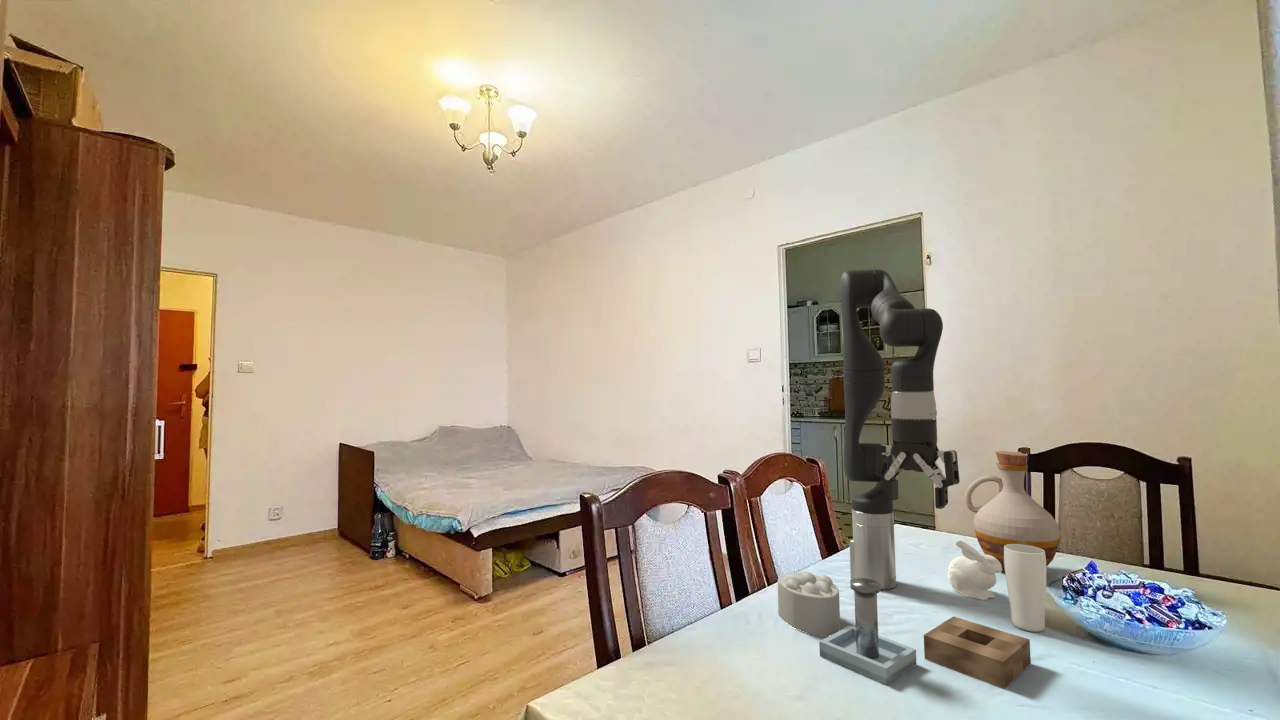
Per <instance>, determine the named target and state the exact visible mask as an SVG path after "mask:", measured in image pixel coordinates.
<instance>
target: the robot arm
mask: <svg viewBox="0 0 1280 720" xmlns="http://www.w3.org/2000/svg"><path fill="white" fill-rule="evenodd" d="M839 296H840V297H839V298H840V299H839V300H840V310H841V323H842V336H843V340H842V341H843V353H842V355H843V362H842V363H843V364H842V365H843V367H842V368H843V373H842V375H843V393H844V394H843V395H844V412H845V413H844V419H845V423H844V446H843V447H844V449H843V468H844V474H845V477H846V478H847V480H849V482H850V481H851V482H861V483H862V482H863V483H864V482H865V483H876V484H875V486H874V487H873V488H871V489H869V490H867V491H866V492H863V493H859V494H856V495H854V496H853V497H852V499H851V516H852V517H851V518H852V522H851V523H852V539H850V540H849V566H850V568H849V569H850V581H851V580H852V579H855V578H866V579H871V580H875V581H877V582H879V583H880V590H889V589H890V590H891V589H894V588H895V587H897V572H896V567H897V566H896V565H897V564H896V545H895V544H896V541H895V538H896V537H895V522H894V521H895V518H894V515H895V514H894V501H897V500H898V499H899V480H898V479H897V478H898V476H899V475H900V474H901V473H902V472H903V471H914V472H916V473H917V472H918V473H924V474H925V475H926V476H927V477H928V478H929V479H931V481H932V482H933V483H934V485H935V486H936V487H934V502H935V506H934V507H935V509H938V510H942V509H944V508H945V507H946V506H947V505H948V504H949V491H948V488H949V487H951V486H955V485H959V484H960V481H961V479H960V471H959V463H958V453H957V451H956V450H954V449H950V450H939V448H938V446H937V445H938V428H937V427H938V424H937V422H938V421H937V416H938V411H937V402H936V395H935V392H934V391H935V389H934V385H935V383H934V367H935V361H936V356H937V352H938V348H939V345H940V342H941V338H942V334H943V330H944V329H943V328H944V324H943V323H944V322H943V319H942V316H941V315H940V314H939V312H938V311H937V310H935V309H933V308H916V307H915V306H914V305H913V304H912V302H911V301H909V300H908V299H906V298H905V297H904V296H903V295H902V294H901V293H900V291H899V290H898V288H897V286H896V284H895V281H894V280H893V279H892V277H891V276H890V273H888V272H887V271H885V270H883V269H880V268H879V269H876V268H873V269H872V268H871V269H855V270H853V269H852V270H846V271H844V272H843V273H842V274H841V276H840V281H839ZM858 309H870V313H871V315H872V318H874V321H876V323H878V324H879V336H880V338H881V342H883V343H884V344H885V345H887V346H889V347H894V348H895V347H896V348H899V347H900V348H902V347H903V348H904V347H906V348H907V347H910V348H911V347H917V351H916V353H915V354H914V355H913V356H911V357H909V358H904V359H899V360H895V361H894V362H892V364H891V368H890V374H891V375H890V376H891V379H890V381H891V396H890V397H891V399H890V416H891V417H890V418H891V419H890V420H891V421H890V422H891V423H890V424H891V439H892V444H891V445H888V443H881V442H880V443H879V442H878V443H876V442H875V443H871V442H870V443H868V442H867V443H864V442H863V443H862V442H861V443H860V437H861V433H862V430H863V427H864V425H865V423H866V421H867V419H868V417H869V416H870V414H871V413H872V411H873V410H874V408H875V407H876V406H877V405H878V403H879V401H880V400H881V398H882V396H883V394H884V392H885V388H886V383H885V377H886V376H885V363H884V360H883V357H882V356H881V353H880V351H878V349H877V348H876V347H875V345H874V344H873V343H872V341H871V340H870V339H869V337H868V336H867V334H866V333H865V331H864V329H863V327H862V325H861V323H860V319H859V314H858ZM894 458H895V460H894ZM939 458H940V460H941V463H943V465H944V472H945V475H944V473H943V470H942V469H941V467H940V466H939V464H938V463H937V460H938V459H939Z"/></svg>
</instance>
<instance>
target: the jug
mask: <svg viewBox="0 0 1280 720" xmlns="http://www.w3.org/2000/svg"><path fill="white" fill-rule="evenodd" d="M995 454H996V457H997V460H998V462H997V463H996V467H997V469H998V471H999V473H1000V477H998V476H997V475H983V476H982V477H979V478H977V479H975V480H974V481H972V482H971V483H970V484H969V485H968V487H967V489H966V491H965V494H964V503H965V505H966V508H967V509H968V510H969V511H970V512H972V513H975V514H974V519H973V526H974V527H973V528H974V533H975V536H976V539H977V542H978V544H979V546H980V548H981V550H982V552H983V553H984V554H986V555H991V556H993V557H995V558H996V559H997V560H998V561H999V562H1000V563H1001V567H1002V571H1001V572H1000V573H1001V574H1004V575H1005V567H1004V546H1005V545H1007V544H1023V545H1030V546H1034V547H1038V548H1041V549H1043V550H1044V551H1045V555H1046V566H1047V567H1048V566H1049V565H1050V564H1051V563H1052V562H1053V560H1054V558H1055V556H1056V553H1057V552H1058V547H1059V544H1060V538H1061V537H1060V536H1061V535H1060V534H1061V531H1060V528H1059V525H1058V522H1057V521H1056V520H1055V518H1054V517H1053V515H1052V514H1051V513H1050V512H1049V511H1048V510H1046V509H1045V508H1044V507H1043V506H1042V505H1040V504H1039V503H1038V502H1037V501H1036V500H1035V499H1033V498H1032V497H1031V496H1030V495H1029V494H1028V493H1027V492H1026V490H1025V475H1026V471H1028V467H1029V465H1028V464H1026V462H1027V459H1028V456H1029V455H1028V454H1026V453H1023V452H1022V453H1021V452H1015V451H1007V450H996V451H995ZM987 482H994V483H997V484H998V485H999V487H998V488H999V490H998V493H996V495H994V496H993V497H992V498H991V499H990V500H988V501H986V502H984V504H983V505H980V506H974V504H973V503H972V496H973V493H974V491H975V490H976V488H978V487H979V486H980V485H982V484H984V483H987Z"/></svg>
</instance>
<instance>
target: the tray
mask: <svg viewBox="0 0 1280 720" xmlns="http://www.w3.org/2000/svg"><path fill="white" fill-rule="evenodd" d="M878 639H879V658H877V659H869V658H867V657H864V656H862V655H859V654H857V653H856V626H853V625H848V626H846V627H845V628H843V629H840V631H838V632H837V633H835V634H833V635H831V636H826V637H825V638H823V639H821V640H819V643H818V644H819V656H820V657H821V658H823V659H826V660H828V661H830V660H831V662H833V663H835V664H837V665H839V664H840V665H839V666H842V667H844V668H846V669H848V670H851V671H853V672H856V673H858V674H860V675H863V676H865V677H867V678H870V679H871V680H875V681H877V682H879V683H881V684H884V685H886V686H887V685H889V684H890V683H892V682H894V681H896V680H897V679H898V678H899V677H901V676H902V675H904V674H905V673H906V672H908V671H909V670H911V669H912V668H914V667H915V666H916V665H917V649H916V648H914V647H911V646H908V645H905V644H902V643H900V642H898V641H894V640H893V639H889V638H887V637H884V636H881V635H878Z"/></svg>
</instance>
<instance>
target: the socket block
mask: <svg viewBox="0 0 1280 720" xmlns="http://www.w3.org/2000/svg"><path fill="white" fill-rule="evenodd" d="M1030 640H1031V639H1029V638H1026V637H1024V636H1020V635H1016V634H1013V633H1010V632H1006V631H1003V630H1000V629H997V628H994V627H991V626H987V625H984V624H981V623H977V622H974V621H970V620H967V619H963V618H960V617H958V616H952V617H950V618H948V619H947V620H945V621H944V622H942V623H941V624H939V625H937V626H936V627H934V628H933V629H931V630H929V631H928V632H926V633H925V634H923V651H924V652H923V653H924V660H927V661H930V662H932V663H936V664H937V665H940V666H943V667H945V668H948V669H950V670H954V671H956V672H959V673H962V674H965V675H968V676H970V677H972V678H975V679H977V680H981V681H983V682H986V683H988V684H992V685H994V686H996V687H999V688H1002V689H1006V688H1007V687H1008V686H1009V685H1010V684H1011V683H1012V682H1013V681H1014V680H1015V679H1017V678H1018V676H1020V675H1021V674H1022V673H1023V672H1024V671H1025V670H1026V669H1027V668H1028V667H1029V666H1030V665H1031V664H1032V660H1031V643H1030V642H1031V641H1030Z"/></svg>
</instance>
